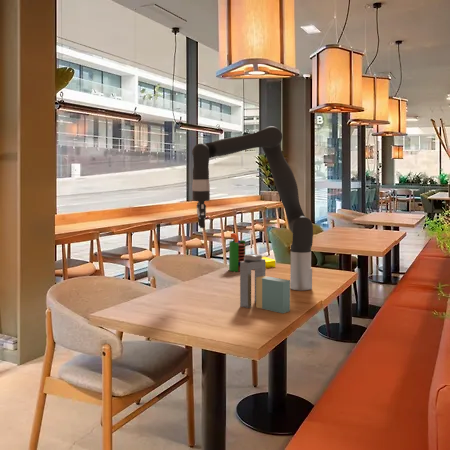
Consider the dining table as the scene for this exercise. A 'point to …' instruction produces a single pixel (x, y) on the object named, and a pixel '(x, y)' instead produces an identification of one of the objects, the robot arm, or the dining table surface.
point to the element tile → (269, 262)
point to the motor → (236, 253)
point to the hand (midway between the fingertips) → (201, 226)
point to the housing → (249, 277)
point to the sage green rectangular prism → (273, 294)
